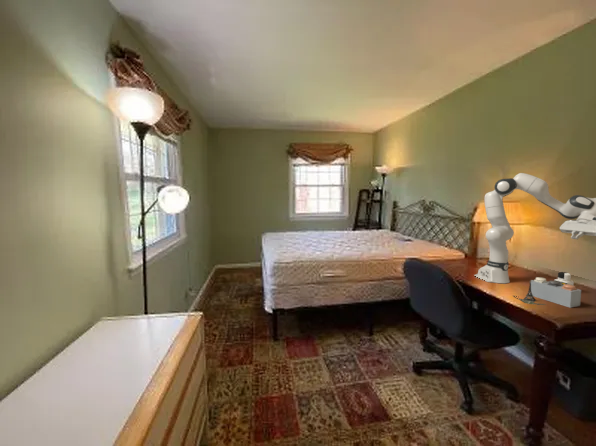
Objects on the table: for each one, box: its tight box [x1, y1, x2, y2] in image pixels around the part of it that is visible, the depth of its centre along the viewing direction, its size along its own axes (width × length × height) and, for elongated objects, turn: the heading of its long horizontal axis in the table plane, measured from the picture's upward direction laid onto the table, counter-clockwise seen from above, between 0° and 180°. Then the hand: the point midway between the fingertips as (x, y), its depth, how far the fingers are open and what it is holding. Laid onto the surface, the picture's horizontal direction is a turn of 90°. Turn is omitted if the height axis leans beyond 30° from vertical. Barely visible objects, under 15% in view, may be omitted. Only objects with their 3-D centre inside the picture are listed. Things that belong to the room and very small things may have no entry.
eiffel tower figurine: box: [513, 279, 546, 306], centre depth 178 cm, size 15×10×13 cm
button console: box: [529, 279, 582, 309], centre depth 178 cm, size 22×8×9 cm, turn 17°
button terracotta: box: [562, 284, 577, 291], centre depth 170 cm, size 5×5×8 cm
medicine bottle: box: [553, 271, 575, 286], centre depth 192 cm, size 7×7×12 cm
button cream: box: [533, 276, 548, 283], centre depth 184 cm, size 5×5×8 cm
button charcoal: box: [547, 280, 561, 287], centre depth 177 cm, size 5×5×8 cm
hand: (574, 238), depth 180 cm, fingers closed
